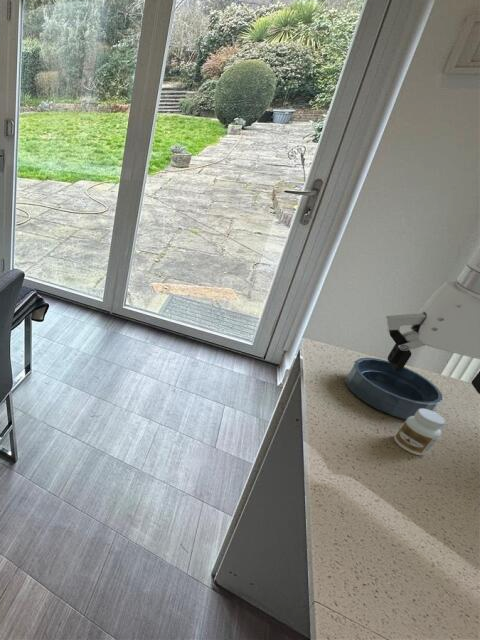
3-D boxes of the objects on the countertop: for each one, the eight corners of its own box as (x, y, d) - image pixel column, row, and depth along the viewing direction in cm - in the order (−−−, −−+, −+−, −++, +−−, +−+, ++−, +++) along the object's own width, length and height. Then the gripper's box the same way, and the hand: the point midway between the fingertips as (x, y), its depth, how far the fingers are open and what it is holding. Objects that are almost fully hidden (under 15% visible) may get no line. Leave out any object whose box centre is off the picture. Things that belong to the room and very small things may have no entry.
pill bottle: (388, 440, 76) (409, 410, 73) (400, 432, 78) (422, 403, 74) (418, 459, 73) (442, 429, 69) (431, 451, 74) (455, 421, 71)
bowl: (397, 380, 91) (409, 362, 88) (447, 427, 79) (462, 409, 77) (331, 371, 93) (340, 353, 91) (370, 416, 81) (382, 397, 79)
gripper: (577, 290, 56) (502, 384, 64) (407, 259, 64) (359, 346, 71) (615, 317, 50) (528, 417, 58) (423, 279, 58) (369, 371, 66)
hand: (434, 377), depth 65 cm, fingers open, 9 cm apart
